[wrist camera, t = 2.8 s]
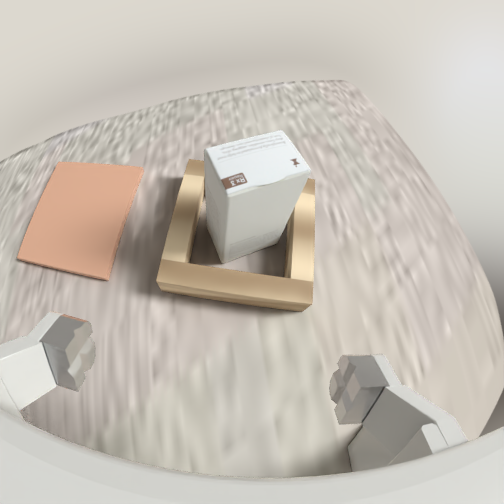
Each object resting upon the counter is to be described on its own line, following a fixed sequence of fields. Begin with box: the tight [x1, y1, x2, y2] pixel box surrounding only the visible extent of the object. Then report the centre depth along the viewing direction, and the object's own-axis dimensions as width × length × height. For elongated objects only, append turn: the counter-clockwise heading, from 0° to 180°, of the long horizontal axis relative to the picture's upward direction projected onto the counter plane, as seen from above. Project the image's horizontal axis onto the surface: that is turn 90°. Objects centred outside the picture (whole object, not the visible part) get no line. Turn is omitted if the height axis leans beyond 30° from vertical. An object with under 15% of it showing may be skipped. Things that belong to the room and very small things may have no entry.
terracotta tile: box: [17, 162, 144, 281], centre depth 27 cm, size 13×12×1 cm
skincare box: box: [204, 130, 311, 263], centre depth 24 cm, size 6×4×12 cm
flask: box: [348, 426, 394, 472], centre depth 17 cm, size 7×7×10 cm
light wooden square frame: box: [156, 159, 315, 312], centre depth 28 cm, size 13×13×3 cm
